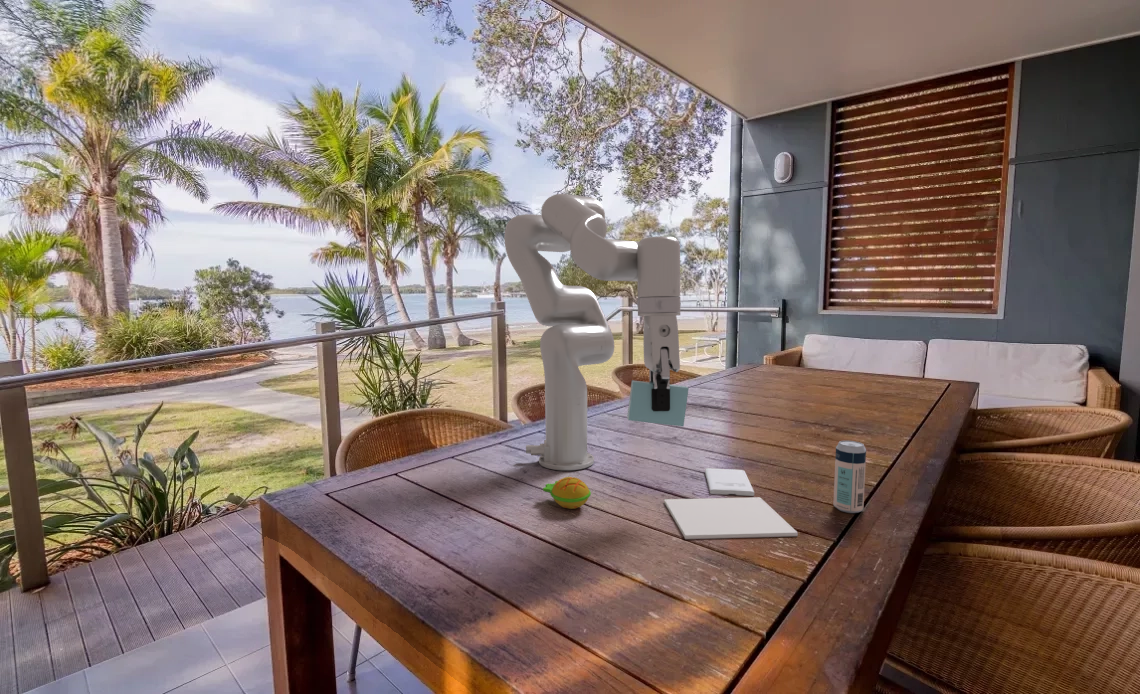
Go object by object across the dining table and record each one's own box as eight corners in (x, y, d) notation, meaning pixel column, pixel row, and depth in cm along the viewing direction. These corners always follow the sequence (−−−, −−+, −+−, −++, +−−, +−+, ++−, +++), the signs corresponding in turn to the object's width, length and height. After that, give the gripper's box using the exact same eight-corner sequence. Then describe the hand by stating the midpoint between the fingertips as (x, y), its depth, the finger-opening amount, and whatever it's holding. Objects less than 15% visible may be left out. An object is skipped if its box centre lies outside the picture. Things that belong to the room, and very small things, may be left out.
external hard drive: (744, 477, 115) (754, 499, 103) (704, 475, 117) (710, 496, 104) (744, 469, 115) (754, 490, 103) (705, 467, 116) (710, 488, 104)
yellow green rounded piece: (568, 518, 93) (567, 488, 92) (536, 501, 101) (535, 473, 100) (598, 509, 97) (598, 480, 97) (565, 493, 105) (565, 466, 105)
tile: (628, 420, 97) (633, 381, 96) (627, 418, 99) (631, 380, 98) (683, 426, 97) (688, 388, 97) (680, 424, 99) (686, 386, 99)
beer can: (860, 506, 98) (864, 441, 97) (865, 516, 93) (869, 448, 92) (831, 502, 100) (834, 438, 98) (835, 512, 95) (838, 445, 94)
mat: (685, 539, 85) (685, 535, 85) (664, 502, 100) (664, 499, 100) (797, 536, 86) (797, 532, 86) (759, 500, 101) (759, 497, 101)
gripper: (690, 307, 89) (691, 418, 90) (670, 307, 104) (670, 401, 106) (645, 308, 89) (646, 419, 90) (631, 307, 104) (632, 402, 106)
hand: (659, 408), depth 98 cm, fingers closed on tile, 1 cm apart
